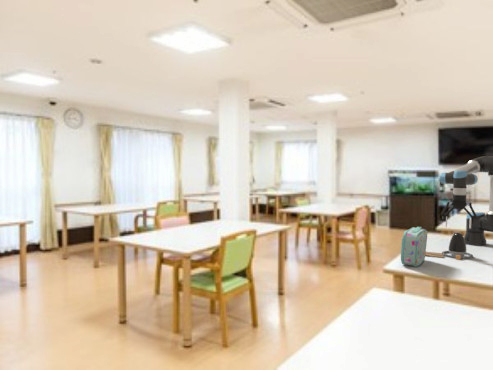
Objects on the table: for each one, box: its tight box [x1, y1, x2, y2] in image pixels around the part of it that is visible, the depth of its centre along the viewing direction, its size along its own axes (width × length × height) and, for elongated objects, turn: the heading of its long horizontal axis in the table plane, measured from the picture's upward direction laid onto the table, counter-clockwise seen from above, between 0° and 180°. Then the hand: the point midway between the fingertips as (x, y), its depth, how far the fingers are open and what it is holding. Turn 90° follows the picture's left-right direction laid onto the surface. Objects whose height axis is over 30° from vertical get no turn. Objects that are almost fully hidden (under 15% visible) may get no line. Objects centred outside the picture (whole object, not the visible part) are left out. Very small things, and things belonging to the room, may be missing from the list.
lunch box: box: [400, 226, 428, 267], centre depth 235 cm, size 27×10×21 cm, turn 145°
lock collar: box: [441, 250, 474, 261], centre depth 254 cm, size 22×18×2 cm
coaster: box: [425, 251, 445, 259], centre depth 255 cm, size 11×11×1 cm
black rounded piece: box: [448, 232, 467, 257], centre depth 253 cm, size 10×10×15 cm
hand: (458, 227), depth 252 cm, fingers open, 13 cm apart
